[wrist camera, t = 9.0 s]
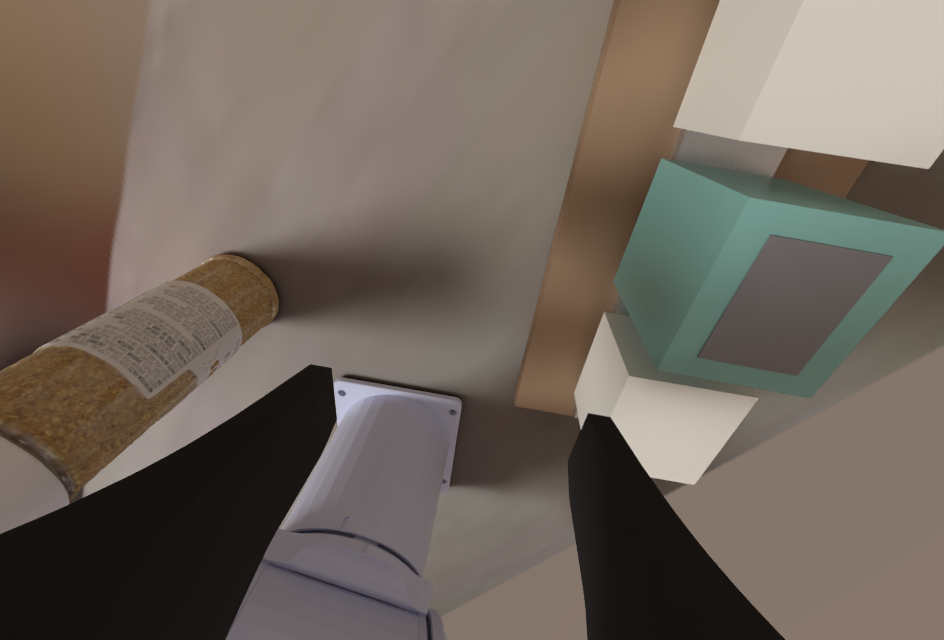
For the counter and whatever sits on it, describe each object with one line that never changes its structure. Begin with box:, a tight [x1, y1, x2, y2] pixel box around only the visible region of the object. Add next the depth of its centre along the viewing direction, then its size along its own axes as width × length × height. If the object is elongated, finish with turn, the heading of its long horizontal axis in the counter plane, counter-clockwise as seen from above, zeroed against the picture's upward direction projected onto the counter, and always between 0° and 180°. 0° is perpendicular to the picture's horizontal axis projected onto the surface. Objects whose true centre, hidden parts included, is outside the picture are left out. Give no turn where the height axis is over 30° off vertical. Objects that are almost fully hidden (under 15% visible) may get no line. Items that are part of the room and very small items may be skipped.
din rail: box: [573, 129, 788, 418], centre depth 15 cm, size 21×4×1 cm, turn 173°
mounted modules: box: [574, 0, 944, 485], centre depth 13 cm, size 18×4×4 cm, turn 173°
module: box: [613, 158, 944, 398], centre depth 12 cm, size 5×4×6 cm
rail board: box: [514, 0, 870, 416], centre depth 16 cm, size 22×10×1 cm, turn 173°
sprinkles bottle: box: [0, 254, 279, 534], centre depth 15 cm, size 5×5×14 cm
